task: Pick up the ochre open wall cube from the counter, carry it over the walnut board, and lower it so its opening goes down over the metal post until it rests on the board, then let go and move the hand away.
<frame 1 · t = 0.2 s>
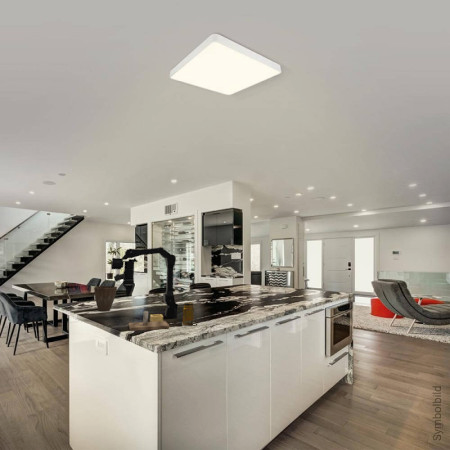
hand: (127, 295, 180), 14 cm above the counter, tool pointing down, fingers open, 9 cm apart
open wall cube: (156, 321, 175), on the counter
condiment: (189, 324, 170), on the counter
plant pot: (104, 310, 206), on the counter
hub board: (148, 327, 161), on the counter
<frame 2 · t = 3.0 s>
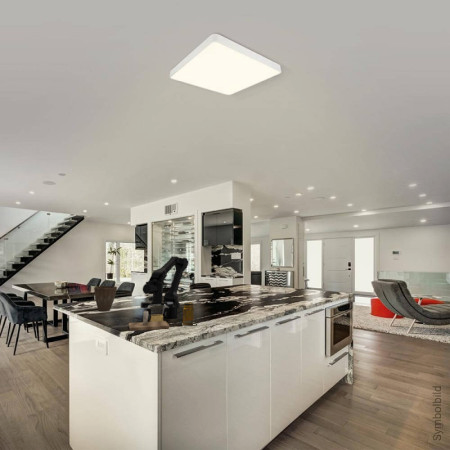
hand: (156, 319, 175), 1 cm above the counter, tool pointing down, fingers closed on open wall cube, 7 cm apart
open wall cube: (156, 321, 175), on the counter, touching gripper
everything else where it was.
when the fingers open (4 cm above the counter, at t = 9.2 s): open wall cube drops 2 cm, resting on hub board.
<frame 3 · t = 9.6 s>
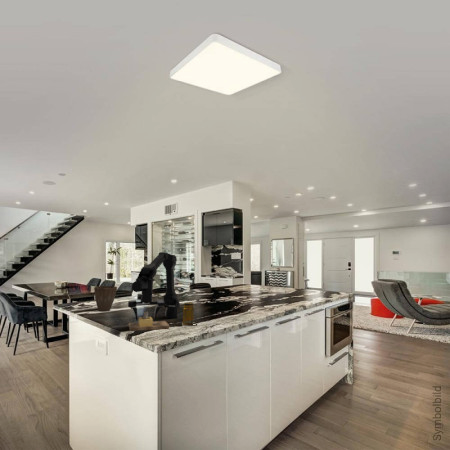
hand: (145, 319, 160), 4 cm above the counter, tool pointing down, fingers open, 9 cm apart
open wall cube: (145, 324, 160), point 1 cm above the counter, touching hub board
everything else where it was.
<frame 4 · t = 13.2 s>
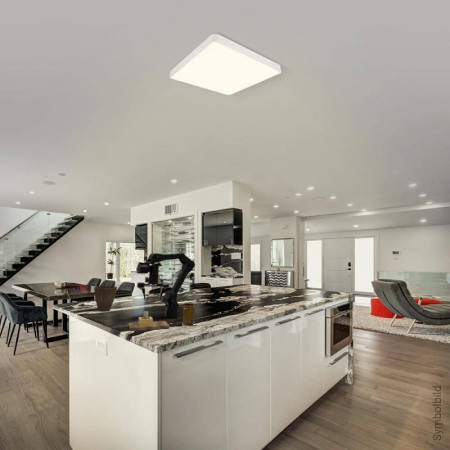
hand: (152, 299, 181), 12 cm above the counter, tool pointing down, fingers open, 9 cm apart
nothing on the counter moved.
at the end: open wall cube 0.0 cm from the target spot on the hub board, point 1.5 cm above the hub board's base; open wall cube tilted 0°; the gripper is holding nothing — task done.
